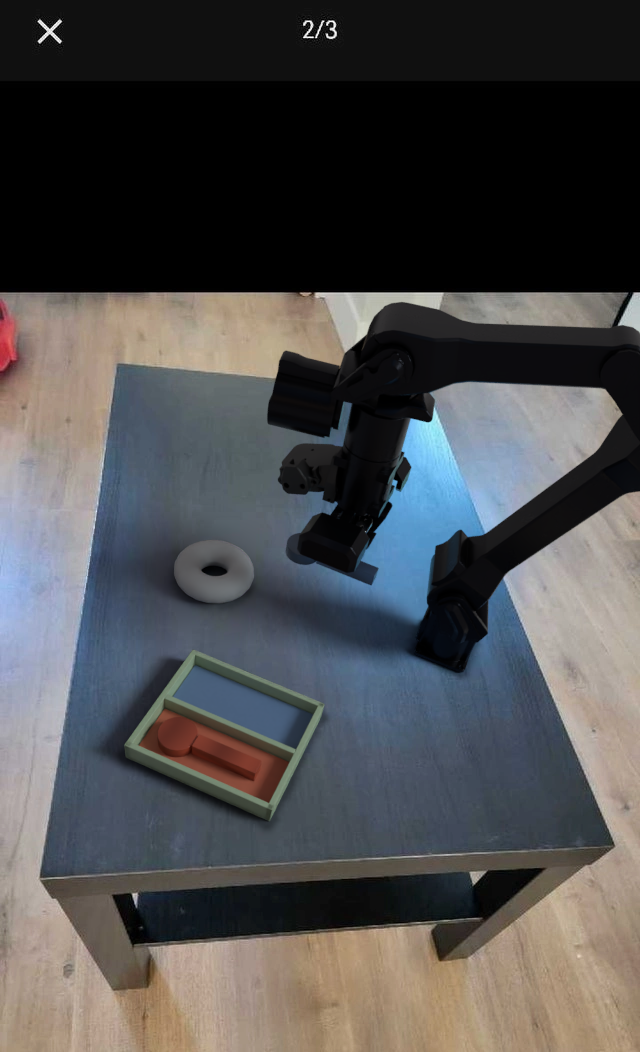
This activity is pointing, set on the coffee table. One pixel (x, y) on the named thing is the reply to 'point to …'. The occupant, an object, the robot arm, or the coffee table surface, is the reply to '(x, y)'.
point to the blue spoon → (362, 572)
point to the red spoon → (203, 748)
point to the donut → (213, 586)
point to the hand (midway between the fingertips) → (343, 562)
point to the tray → (230, 731)
